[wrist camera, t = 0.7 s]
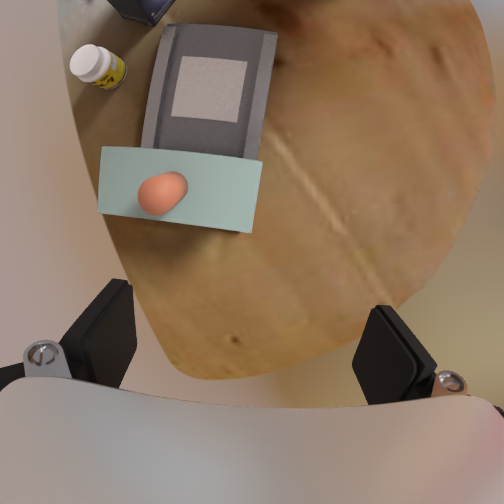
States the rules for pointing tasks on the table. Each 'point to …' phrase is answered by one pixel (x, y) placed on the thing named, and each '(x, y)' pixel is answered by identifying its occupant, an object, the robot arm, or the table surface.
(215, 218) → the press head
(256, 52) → the base
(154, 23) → the small box
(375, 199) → the table surface
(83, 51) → the supplement bottle
